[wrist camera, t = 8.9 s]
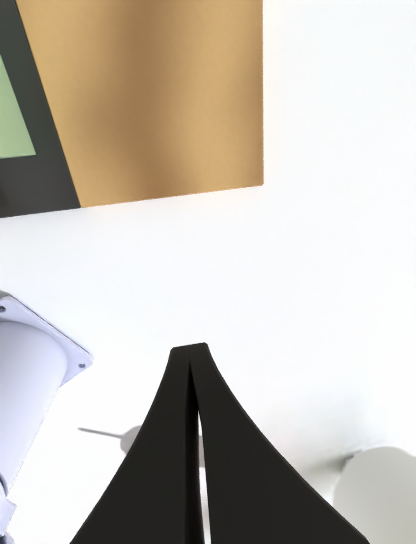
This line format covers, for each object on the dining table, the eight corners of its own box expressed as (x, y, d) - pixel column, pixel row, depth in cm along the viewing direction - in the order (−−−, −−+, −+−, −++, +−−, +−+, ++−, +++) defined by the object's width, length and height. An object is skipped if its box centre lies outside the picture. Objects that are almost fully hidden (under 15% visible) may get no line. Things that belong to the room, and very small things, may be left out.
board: (255, -101, 11) (262, -123, 10) (259, 183, 17) (264, 185, 16) (-244, -76, 10) (-285, -98, 9) (-68, 224, 15) (-83, 228, 14)
